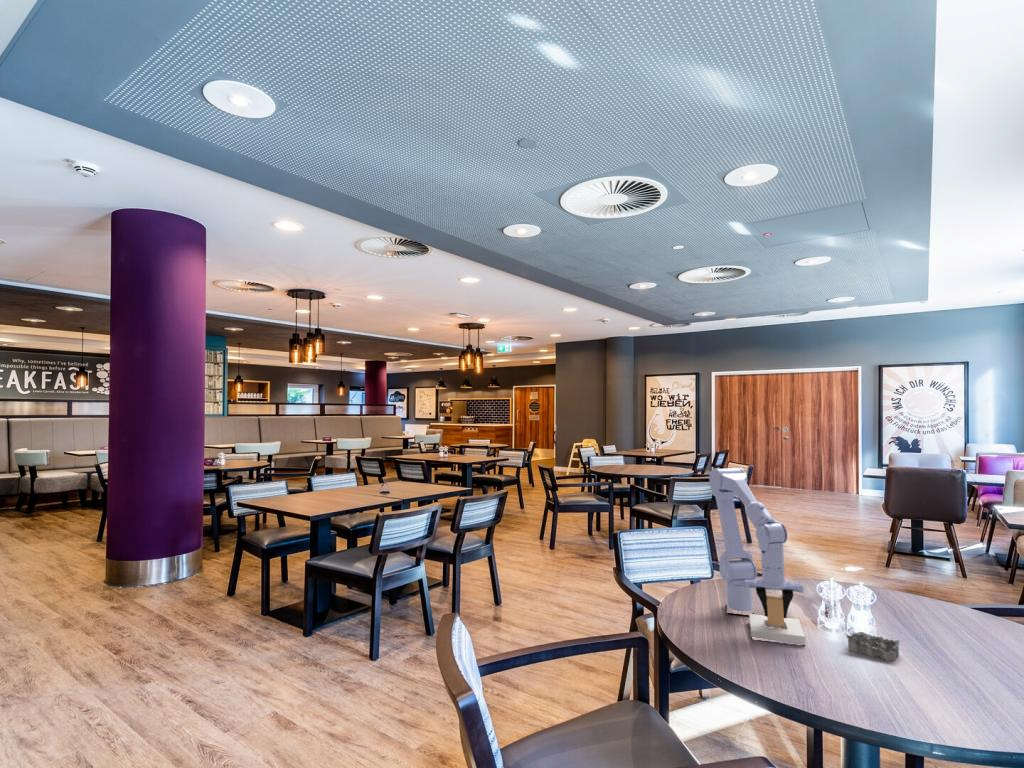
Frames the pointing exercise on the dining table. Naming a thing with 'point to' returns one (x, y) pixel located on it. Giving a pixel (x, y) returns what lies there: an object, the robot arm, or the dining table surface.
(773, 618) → the peg
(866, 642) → the egg carton
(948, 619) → the dining table surface
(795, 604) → the dining table surface
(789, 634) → the socket plate
